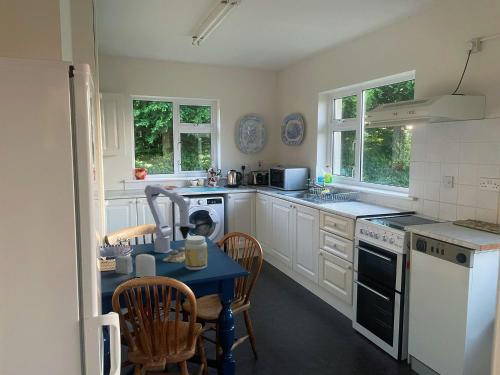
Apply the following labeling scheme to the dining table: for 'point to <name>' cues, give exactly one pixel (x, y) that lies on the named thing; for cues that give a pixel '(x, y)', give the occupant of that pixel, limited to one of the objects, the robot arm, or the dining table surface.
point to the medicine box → (123, 264)
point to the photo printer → (145, 265)
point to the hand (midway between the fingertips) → (185, 238)
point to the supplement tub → (195, 253)
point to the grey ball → (181, 249)
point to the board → (176, 257)
